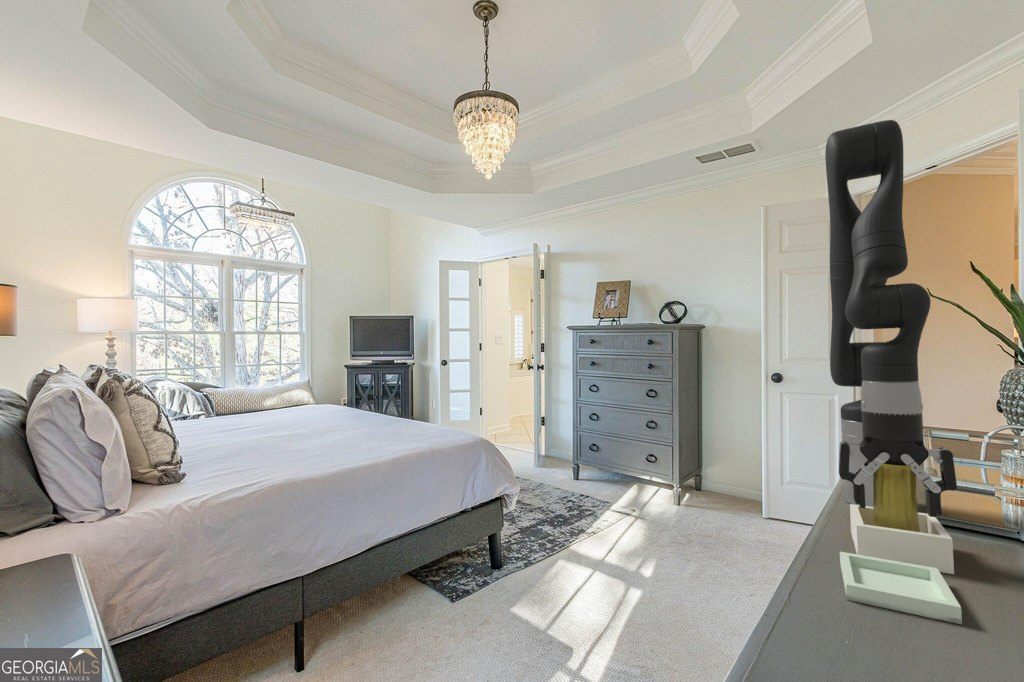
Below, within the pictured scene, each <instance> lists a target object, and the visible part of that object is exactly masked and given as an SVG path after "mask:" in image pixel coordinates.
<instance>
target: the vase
mask: <svg viewBox="0 0 1024 682" xmlns="http://www.w3.org/2000/svg"><path fill="white" fill-rule="evenodd" d="M917 497H918V496H917V475H916V474H915V473H914V472H913V471H912V470H911V466H909V465H907V466H902V465H890V464H884V463H881V466H880V467H879V468H878V469H877V470H876V471H875V472H874V473H873V509H874V520H873V526H879V527H886V528H893V529H900V530H907V531H914V532H920V528H919V520H918V513H919V510H918V509H919V508H918V498H917Z"/></svg>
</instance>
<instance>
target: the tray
mask: <svg viewBox="0 0 1024 682" xmlns="http://www.w3.org/2000/svg"><path fill="white" fill-rule="evenodd" d="M839 566H840V570H841V576H842V582H843V586H844V591H845V596H846V600H847V601H851V602H856V603H859V604H865V605H870V606H874V607H879V608H883V609H887V610H893V611H898V612H902V613H905V614H910V615H917V616H920V617H926V618H929V619H935V620H939V621H945V622H949V623H952V624H959V625H963V618H962V617H963V616H962V614H963V613H962V607H961V605H960V603H959V601H958V599H956V597H955V594H954V593H953V592H952V590H951V588H950V587H949V584H948V583H947V581H946V580H945V579H944V577H943V575H942V574H941V572H939V570H938V569H937V568H933V567H928V566H922V565H916V564H910V563H904V562H898V561H892V560H887V559H881V558H875V557H869V556H863V555H857V553H850V552H845V551H839Z"/></svg>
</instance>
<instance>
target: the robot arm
mask: <svg viewBox="0 0 1024 682" xmlns="http://www.w3.org/2000/svg"><path fill="white" fill-rule="evenodd" d="M903 138H904V137H903V132H902V128H901V126H900V124H899V123H898V122H897V121H896V120H894V119H887V120H879V121H877V122H876V121H875V122H872V123H866V124H862V125H859V126H853V127H849V128H846V129H841V130H837V131H834V132H832V133H831V134H829V136H828V138H827V140H826V145H825V158H824V159H825V175H826V184H827V195H828V206H829V208H828V209H829V210H828V211H829V281H830V298H831V299H830V301H831V332H830V335H831V336H830V352H829V353H830V354H829V356H830V357H829V370H830V376H831V380H832V382H833V383H834V384H835V385H836V386H840V387H849V388H850V387H851V388H852V387H853V388H854V387H857V388H859V387H861V388H860V389H861V390H860V399H859V400H854V401H852V402H851V401H850V402H846V403H844V404H842V405H841V406H840V427H841V428H840V429H841V431H840V432H841V441H840V442H839V450H838V451H839V454H838V455H839V457H838V474H839V477H840V479H841V480H843V498H844V500H845V502H846V503H848V504H849V505H850V504H854V505H859V506H860V508H865V506H870V507H873V473H874V472H875V471H876V470H877V469H878V468H879V467H880V466H881V463H884V464H890V465H902V466H907V465H909V466H911V470H912V471H913V472H914V473H915V474H916V477H918V478H919V480H920V481H921V482H922V483H923V484H924V485H925V486H926V487H927V488H925V501H926V502H925V503H926V514H928V515H929V516H930V517H936V518H937V514H939V515H940V514H941V512H942V498H941V497H942V496H941V494H942V493H943V492H946V491H955V490H958V489H957V488H958V485H957V484H958V483H957V476H956V469H955V462H954V460H955V459H954V454H953V452H951V450H949V449H948V448H947V447H943V446H942V447H939V448H927V447H926V446H925V441H924V421H923V409H924V404H923V400H922V392H921V389H920V384H919V383H920V382H919V381H920V380H919V367H918V365H919V363H918V361H919V360H918V354H919V348H920V347H919V346H920V342H921V337H922V334H923V330H924V327H925V324H926V321H927V319H928V316H929V313H930V308H931V297H930V294H929V292H928V291H927V289H926V288H925V287H924V286H923V285H920V284H918V283H915V282H914V283H912V282H911V283H897V284H887V281H888V279H890V278H894V277H896V276H898V275H901V274H902V273H904V272H905V270H906V269H907V267H908V264H909V262H908V261H909V259H908V258H909V257H908V252H907V245H906V244H907V243H906V239H905V237H906V236H905V231H904V222H903V221H904V219H903V202H904V201H903V199H904V140H903ZM879 175H880V180H879V185H878V186H877V188H876V191H875V193H874V194H873V196H872V198H871V199H870V201H868V203H867V205H866V206H865V207H864V209H863V210H862V211H861V210H860V209H859V207H858V206H857V204H856V202H855V201H854V199H853V198H852V195H851V192H850V191H849V186H848V182H849V181H853V180H859V179H864V178H869V177H874V176H879ZM855 329H858V330H878V329H879V330H882V329H884V330H885V329H899V330H898V331H899V332H898V333H897V335H896V336H895V337H894V338H893V339H891V340H887V341H873V342H872V341H869V342H867V341H866V342H865V341H864V342H850V341H851V337H852V335H853V332H854V330H855ZM929 457H931V458H932V460H933V461H934V462H935V463H936V464H939V471H940V478H941V480H936V481H935V480H934V479H933V478H932V477H930V475H928V473H927V472H926V471H925V470H924V469H923V468H922V467H921V466H922V464H923V463H924V462H925V461H926V460H927V458H929Z"/></svg>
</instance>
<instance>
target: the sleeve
mask: <svg viewBox="0 0 1024 682" xmlns="http://www.w3.org/2000/svg"><path fill="white" fill-rule="evenodd" d="M849 511H850V513H849V516H850V532H851V533H850V534H851V537H852V542H853V544H854V549H855V553H856V554H857V555H863V556H869V557H875V558H881V559H887V560H892V561H898V562H904V563H910V564H916V565H922V566H928V567H933V568H937V569H938V570H939V572H940V573H944V574H948V575H955V567H954V566H955V565H954V545H953V543H954V542H953V538H952V536H950V533H948V531H947V530H946V529H945V527H944V526H943V525H942V524H941V523H940V521H939V520H938V518H937V516H936V517H930V516H929V515H928V514H927V512H926V513H925V512H918V520H919V528H920V532H914V531H907V530H900V529H893V528H886V527H879V526H873V520H874V509H873V507H870V506H865V508H860V506H859V505H854V504H850V503H849Z"/></svg>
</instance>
